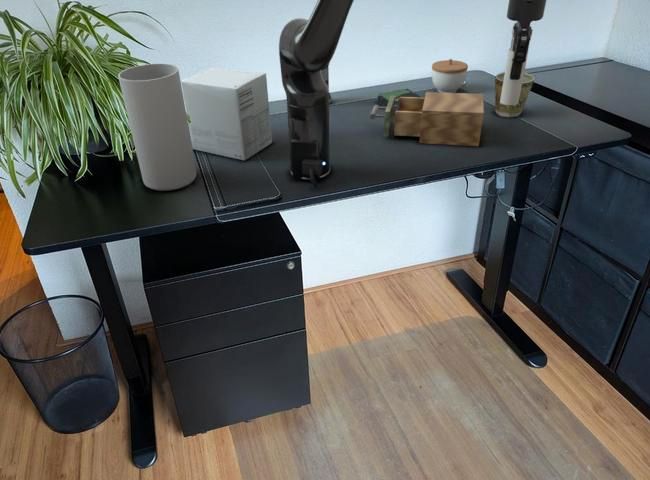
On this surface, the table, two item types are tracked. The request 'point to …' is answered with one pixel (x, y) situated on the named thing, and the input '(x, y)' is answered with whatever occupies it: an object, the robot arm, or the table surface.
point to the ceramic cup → (525, 89)
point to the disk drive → (385, 97)
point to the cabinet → (452, 118)
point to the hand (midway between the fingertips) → (513, 75)
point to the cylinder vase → (159, 125)
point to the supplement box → (228, 112)
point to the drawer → (402, 116)
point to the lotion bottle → (511, 82)
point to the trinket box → (448, 75)
